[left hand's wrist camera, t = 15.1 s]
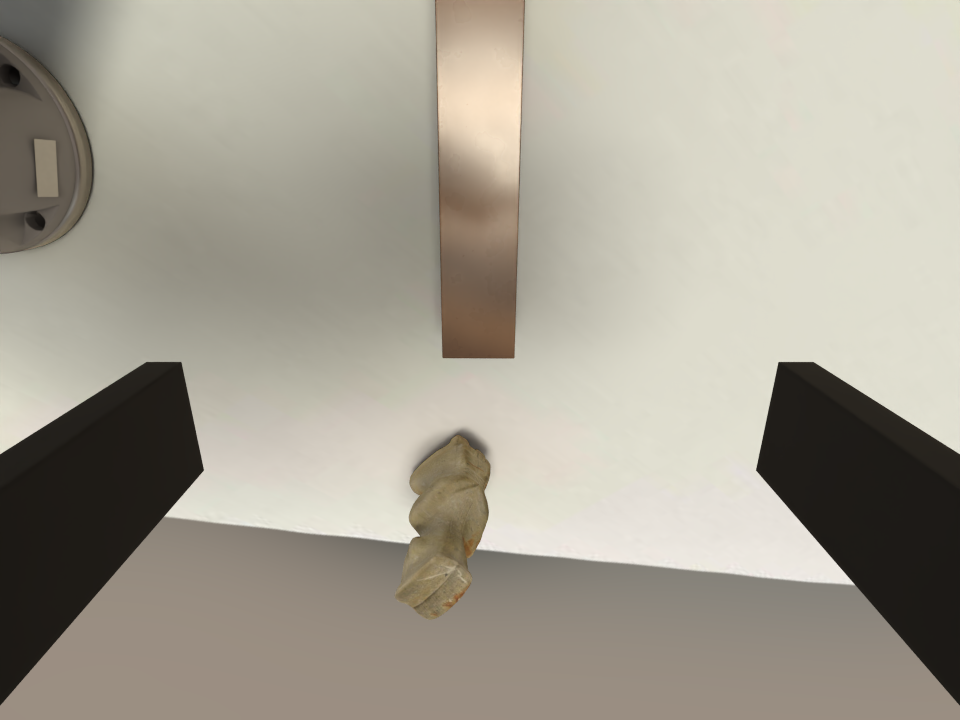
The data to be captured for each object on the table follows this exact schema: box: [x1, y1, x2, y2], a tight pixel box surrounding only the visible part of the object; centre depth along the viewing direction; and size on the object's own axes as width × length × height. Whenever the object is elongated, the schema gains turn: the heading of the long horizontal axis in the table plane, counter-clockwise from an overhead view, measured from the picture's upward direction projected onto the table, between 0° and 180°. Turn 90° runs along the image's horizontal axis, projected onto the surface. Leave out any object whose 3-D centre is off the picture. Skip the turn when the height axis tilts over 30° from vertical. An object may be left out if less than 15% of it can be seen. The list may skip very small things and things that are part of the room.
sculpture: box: [395, 435, 490, 620], centre depth 42 cm, size 6×7×15 cm
